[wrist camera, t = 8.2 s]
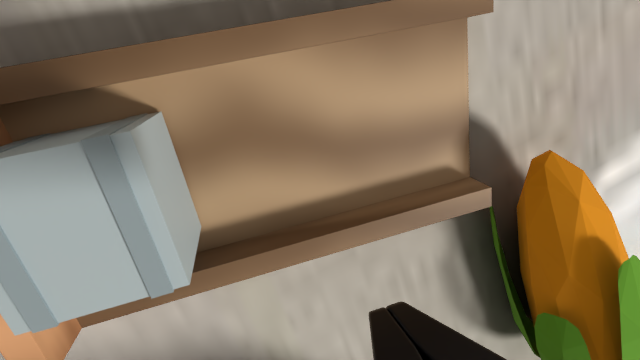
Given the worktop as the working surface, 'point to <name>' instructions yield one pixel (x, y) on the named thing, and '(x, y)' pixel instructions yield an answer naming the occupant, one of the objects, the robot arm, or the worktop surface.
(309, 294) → the worktop surface
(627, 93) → the worktop surface
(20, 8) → the worktop surface
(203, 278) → the bay
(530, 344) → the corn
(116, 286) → the block
